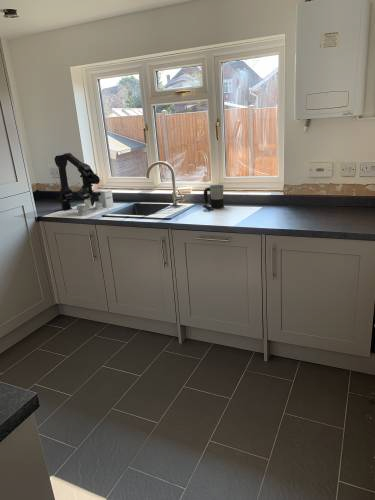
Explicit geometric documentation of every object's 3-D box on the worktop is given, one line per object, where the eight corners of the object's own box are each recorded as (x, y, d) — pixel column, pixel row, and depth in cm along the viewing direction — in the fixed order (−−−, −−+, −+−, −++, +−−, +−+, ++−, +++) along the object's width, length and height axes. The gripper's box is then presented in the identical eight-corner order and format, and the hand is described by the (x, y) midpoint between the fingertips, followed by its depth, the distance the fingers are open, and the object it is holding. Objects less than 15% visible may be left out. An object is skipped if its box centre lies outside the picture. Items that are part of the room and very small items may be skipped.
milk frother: (224, 205, 274) (223, 184, 270) (224, 210, 259) (223, 187, 255) (203, 206, 276) (202, 185, 271) (202, 211, 261) (201, 189, 256)
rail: (76, 215, 277) (75, 207, 276) (99, 208, 295) (98, 201, 293) (82, 215, 274) (81, 207, 272) (105, 208, 291) (104, 201, 290)
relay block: (77, 209, 297) (76, 205, 296) (79, 208, 301) (79, 203, 299) (81, 209, 296) (81, 205, 295) (84, 208, 299) (83, 203, 298)
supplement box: (106, 208, 292) (104, 191, 288) (99, 208, 296) (97, 191, 293) (113, 206, 298) (111, 189, 294) (107, 206, 302) (105, 189, 298)
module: (85, 208, 282) (84, 199, 280) (91, 206, 287) (89, 197, 285) (89, 208, 280) (88, 199, 278) (95, 206, 284) (94, 198, 282)
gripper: (69, 185, 277) (72, 207, 282) (88, 185, 267) (91, 208, 272) (81, 182, 286) (84, 204, 290) (100, 183, 276) (102, 205, 280)
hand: (90, 205), depth 283 cm, fingers closed on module, 4 cm apart
